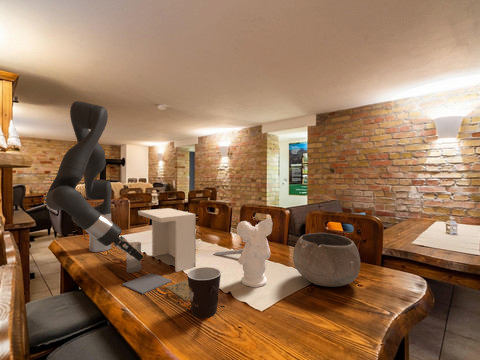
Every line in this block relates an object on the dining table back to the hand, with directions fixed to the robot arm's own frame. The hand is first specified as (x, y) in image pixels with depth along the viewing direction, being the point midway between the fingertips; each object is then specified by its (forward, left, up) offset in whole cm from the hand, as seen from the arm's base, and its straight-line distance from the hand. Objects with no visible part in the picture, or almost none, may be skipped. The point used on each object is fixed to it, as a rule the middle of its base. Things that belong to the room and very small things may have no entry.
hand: (138, 256), depth 93 cm
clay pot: (+62, +28, -5) cm, 68 cm away
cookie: (+28, 0, -5) cm, 28 cm away
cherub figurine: (+42, +17, -5) cm, 45 cm away
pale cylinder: (0, -2, -5) cm, 5 cm away
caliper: (+22, +32, -5) cm, 39 cm away
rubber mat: (+14, -6, -5) cm, 16 cm away
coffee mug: (+42, -9, -5) cm, 43 cm away
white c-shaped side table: (+3, +10, -5) cm, 12 cm away
